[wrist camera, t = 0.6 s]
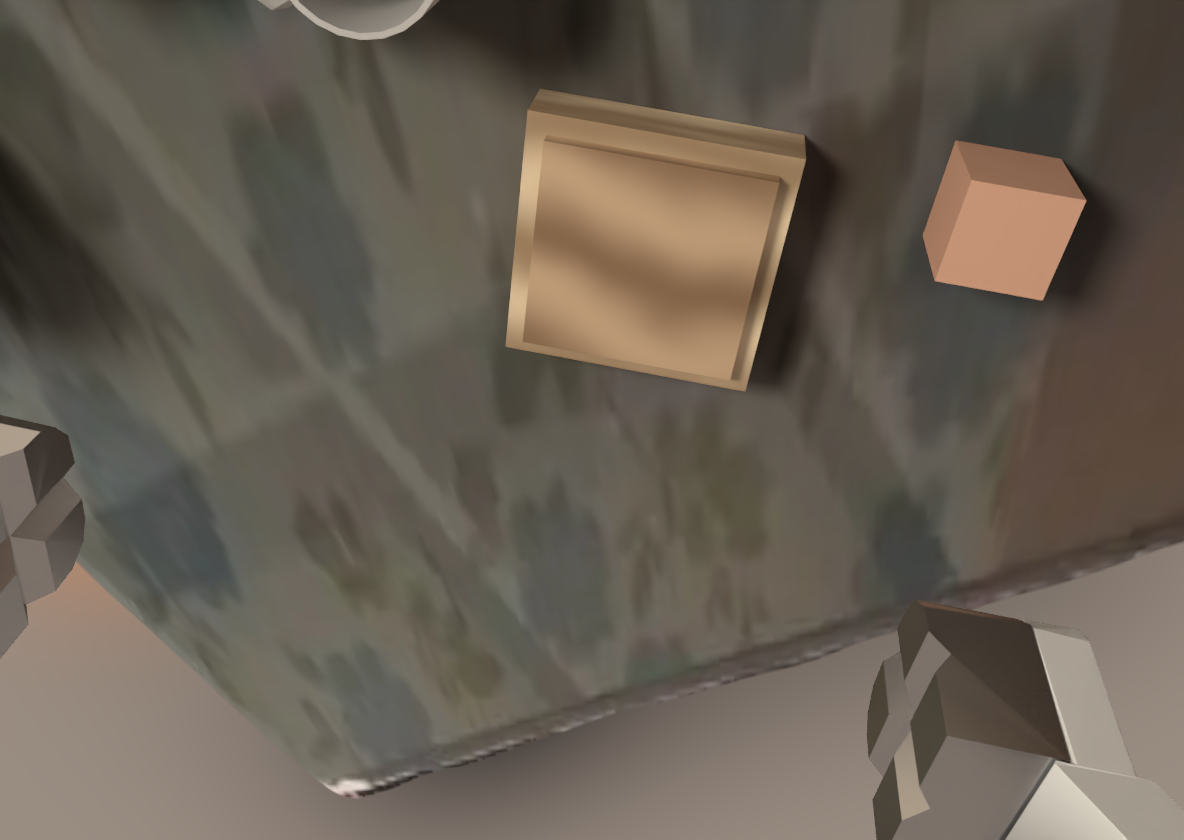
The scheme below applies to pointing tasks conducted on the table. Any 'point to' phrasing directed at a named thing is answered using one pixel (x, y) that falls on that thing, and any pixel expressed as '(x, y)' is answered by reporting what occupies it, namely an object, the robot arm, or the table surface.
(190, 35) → the table surface
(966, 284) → the cube
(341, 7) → the cup
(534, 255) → the plinth
